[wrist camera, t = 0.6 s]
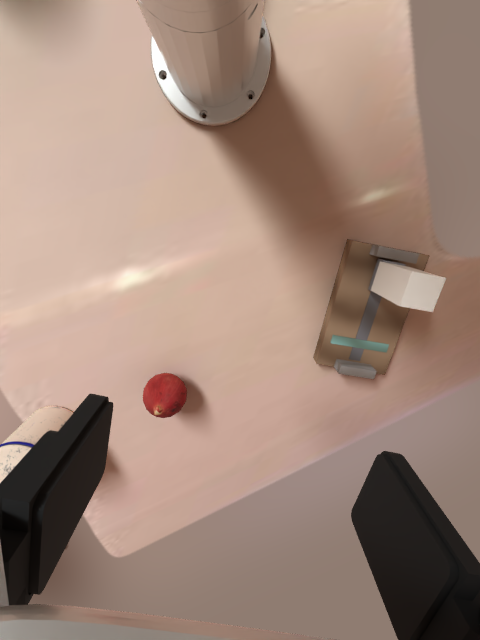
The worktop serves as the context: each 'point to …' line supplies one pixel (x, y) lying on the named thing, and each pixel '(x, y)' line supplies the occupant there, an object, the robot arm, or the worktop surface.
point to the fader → (406, 285)
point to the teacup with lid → (30, 436)
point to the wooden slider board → (362, 313)
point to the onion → (164, 395)
